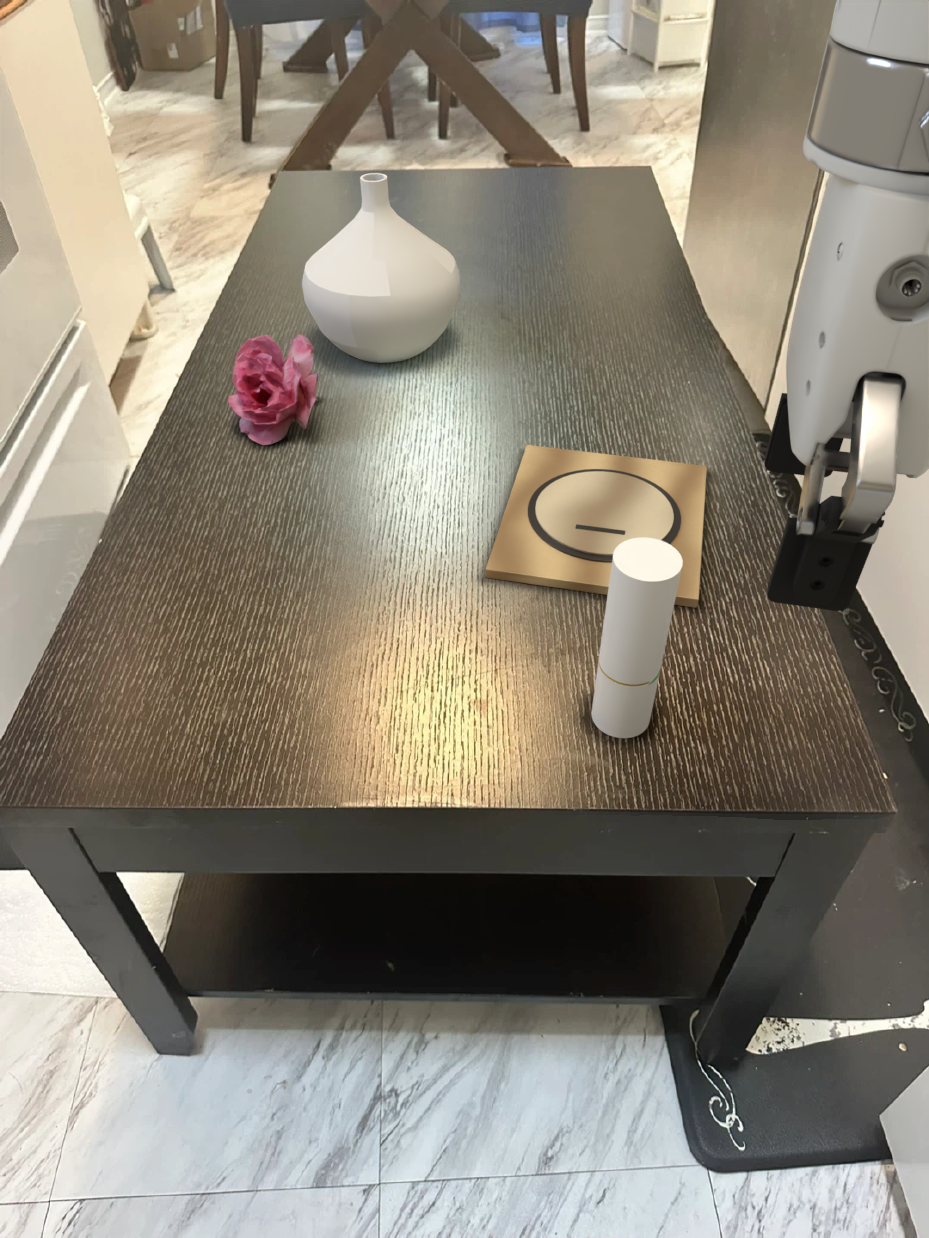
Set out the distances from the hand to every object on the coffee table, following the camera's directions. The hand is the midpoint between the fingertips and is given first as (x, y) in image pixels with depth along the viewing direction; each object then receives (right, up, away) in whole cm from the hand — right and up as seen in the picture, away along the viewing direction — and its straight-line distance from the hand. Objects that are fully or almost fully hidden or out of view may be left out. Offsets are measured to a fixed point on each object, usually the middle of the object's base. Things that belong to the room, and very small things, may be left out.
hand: (800, 531), depth 40 cm
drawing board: (-2, +5, +42) cm, 42 cm away
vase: (-25, +30, +68) cm, 78 cm away
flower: (-35, +17, +55) cm, 68 cm away
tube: (-4, -11, +25) cm, 28 cm away
